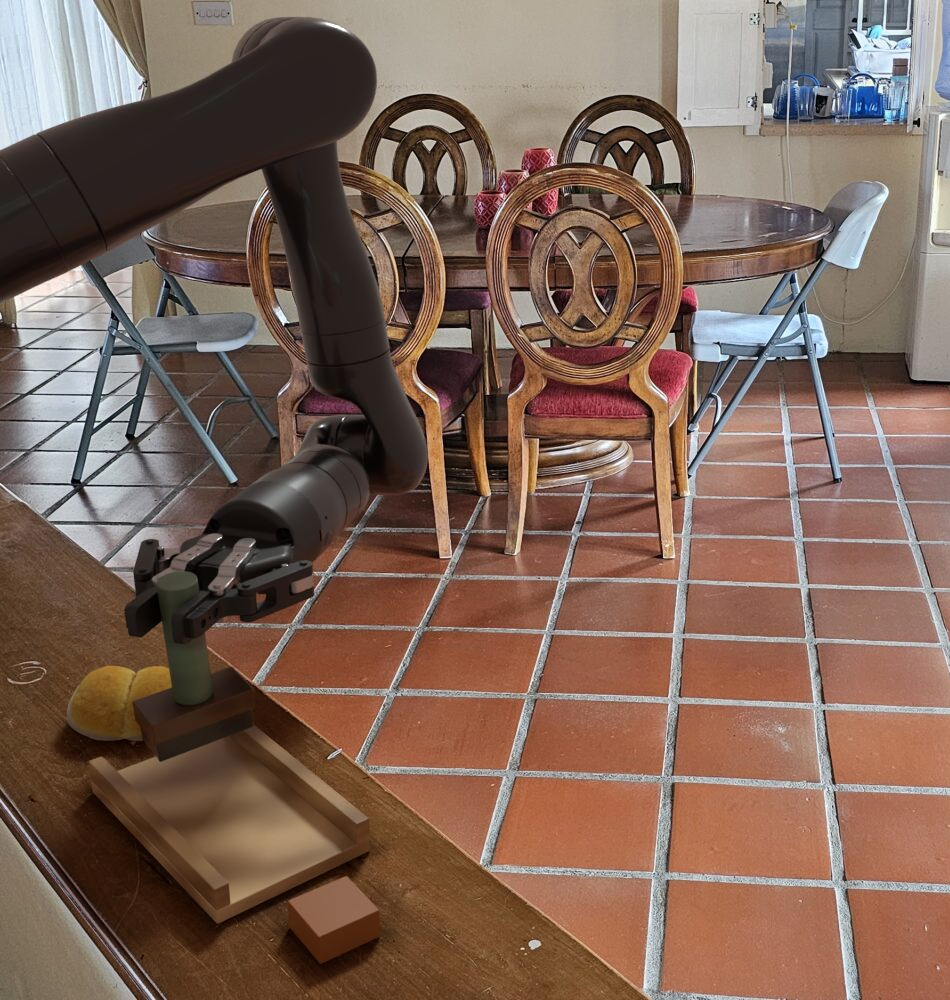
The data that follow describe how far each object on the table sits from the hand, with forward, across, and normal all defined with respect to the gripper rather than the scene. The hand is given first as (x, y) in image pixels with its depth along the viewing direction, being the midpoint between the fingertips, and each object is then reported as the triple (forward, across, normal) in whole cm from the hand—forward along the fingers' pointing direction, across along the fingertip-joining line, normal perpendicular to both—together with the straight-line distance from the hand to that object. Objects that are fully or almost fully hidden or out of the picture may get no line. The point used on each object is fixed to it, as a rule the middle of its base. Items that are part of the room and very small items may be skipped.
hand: (155, 627), depth 83 cm
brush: (-4, 0, +10) cm, 11 cm away
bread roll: (-10, -10, +15) cm, 20 cm away
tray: (-1, +4, +14) cm, 15 cm away
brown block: (+8, +15, +14) cm, 22 cm away
